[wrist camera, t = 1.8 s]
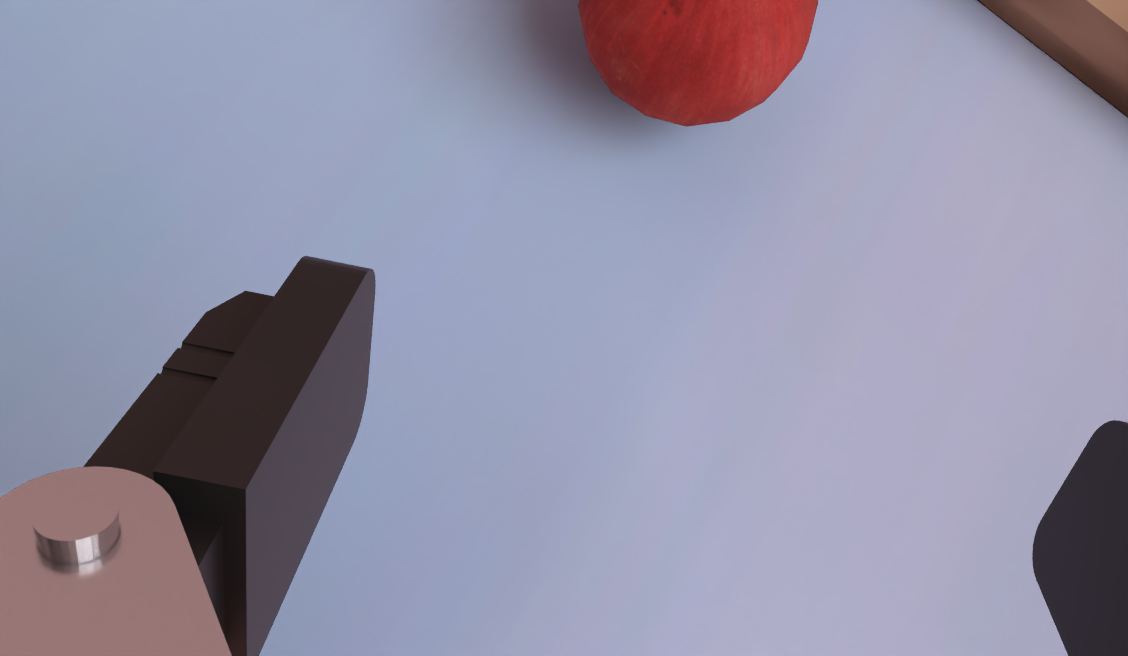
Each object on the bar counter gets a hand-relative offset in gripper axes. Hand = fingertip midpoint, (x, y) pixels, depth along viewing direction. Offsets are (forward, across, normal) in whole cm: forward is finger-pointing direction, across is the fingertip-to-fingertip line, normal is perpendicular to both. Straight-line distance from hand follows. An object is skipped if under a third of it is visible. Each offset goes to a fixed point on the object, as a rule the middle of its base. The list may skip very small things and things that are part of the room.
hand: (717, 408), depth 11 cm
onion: (+19, 0, +2) cm, 19 cm away
